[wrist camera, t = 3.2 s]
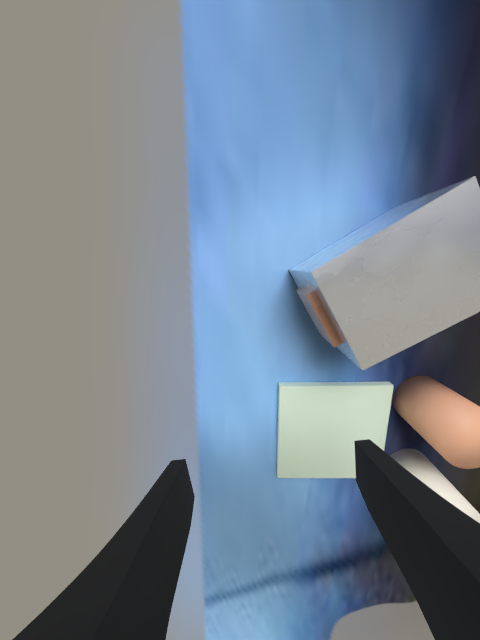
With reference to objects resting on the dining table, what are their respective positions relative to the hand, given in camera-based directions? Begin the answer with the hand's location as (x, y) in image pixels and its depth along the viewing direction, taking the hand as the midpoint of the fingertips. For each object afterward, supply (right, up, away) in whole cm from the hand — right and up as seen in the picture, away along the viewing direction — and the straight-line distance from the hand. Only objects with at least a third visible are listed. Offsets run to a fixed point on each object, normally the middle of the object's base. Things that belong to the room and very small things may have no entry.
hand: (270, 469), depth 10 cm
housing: (+7, +10, +7) cm, 14 cm away
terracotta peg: (+13, 0, +9) cm, 16 cm away
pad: (+6, -3, +10) cm, 13 cm away
